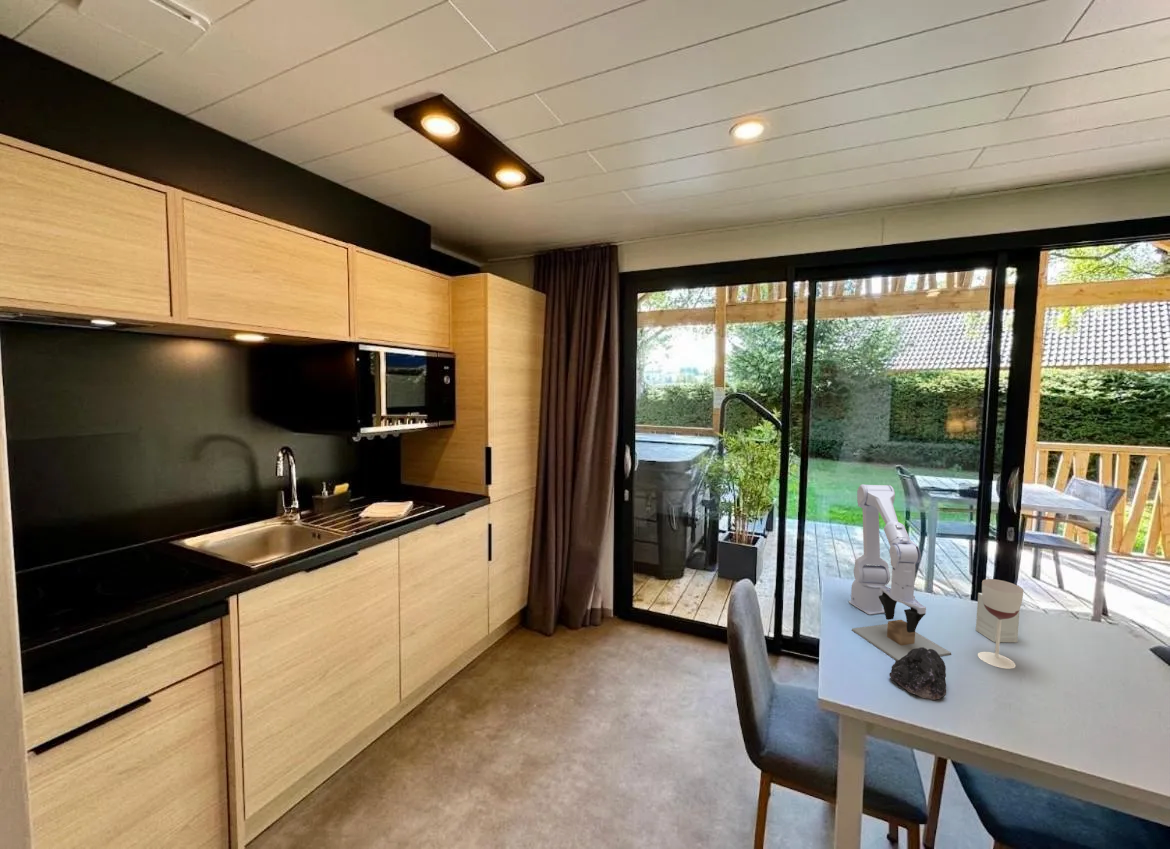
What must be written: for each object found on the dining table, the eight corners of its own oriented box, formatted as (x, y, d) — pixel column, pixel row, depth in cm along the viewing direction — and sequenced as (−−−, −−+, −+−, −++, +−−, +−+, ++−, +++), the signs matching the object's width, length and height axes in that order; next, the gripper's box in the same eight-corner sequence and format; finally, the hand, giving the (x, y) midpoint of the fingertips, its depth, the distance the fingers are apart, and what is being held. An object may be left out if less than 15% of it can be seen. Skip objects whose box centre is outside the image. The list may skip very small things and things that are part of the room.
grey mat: (851, 630, 154) (851, 628, 154) (898, 623, 158) (898, 622, 157) (899, 662, 136) (899, 660, 136) (951, 654, 140) (951, 652, 140)
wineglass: (981, 664, 135) (987, 589, 133) (972, 647, 144) (978, 576, 141) (1021, 673, 131) (1028, 596, 129) (1010, 655, 139) (1017, 582, 137)
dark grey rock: (902, 701, 121) (910, 666, 119) (877, 665, 135) (884, 633, 133) (959, 709, 120) (968, 674, 118) (928, 672, 133) (936, 640, 131)
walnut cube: (886, 636, 149) (887, 621, 148) (900, 634, 150) (901, 619, 149) (900, 645, 144) (901, 629, 143) (914, 643, 145) (915, 627, 144)
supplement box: (1018, 642, 146) (1021, 603, 145) (993, 642, 146) (996, 603, 145) (998, 630, 153) (1001, 592, 152) (974, 630, 154) (977, 592, 152)
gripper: (935, 591, 139) (932, 636, 140) (893, 571, 153) (891, 612, 154) (915, 594, 137) (912, 639, 139) (874, 573, 151) (872, 614, 153)
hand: (900, 625), depth 146 cm, fingers open, 7 cm apart
